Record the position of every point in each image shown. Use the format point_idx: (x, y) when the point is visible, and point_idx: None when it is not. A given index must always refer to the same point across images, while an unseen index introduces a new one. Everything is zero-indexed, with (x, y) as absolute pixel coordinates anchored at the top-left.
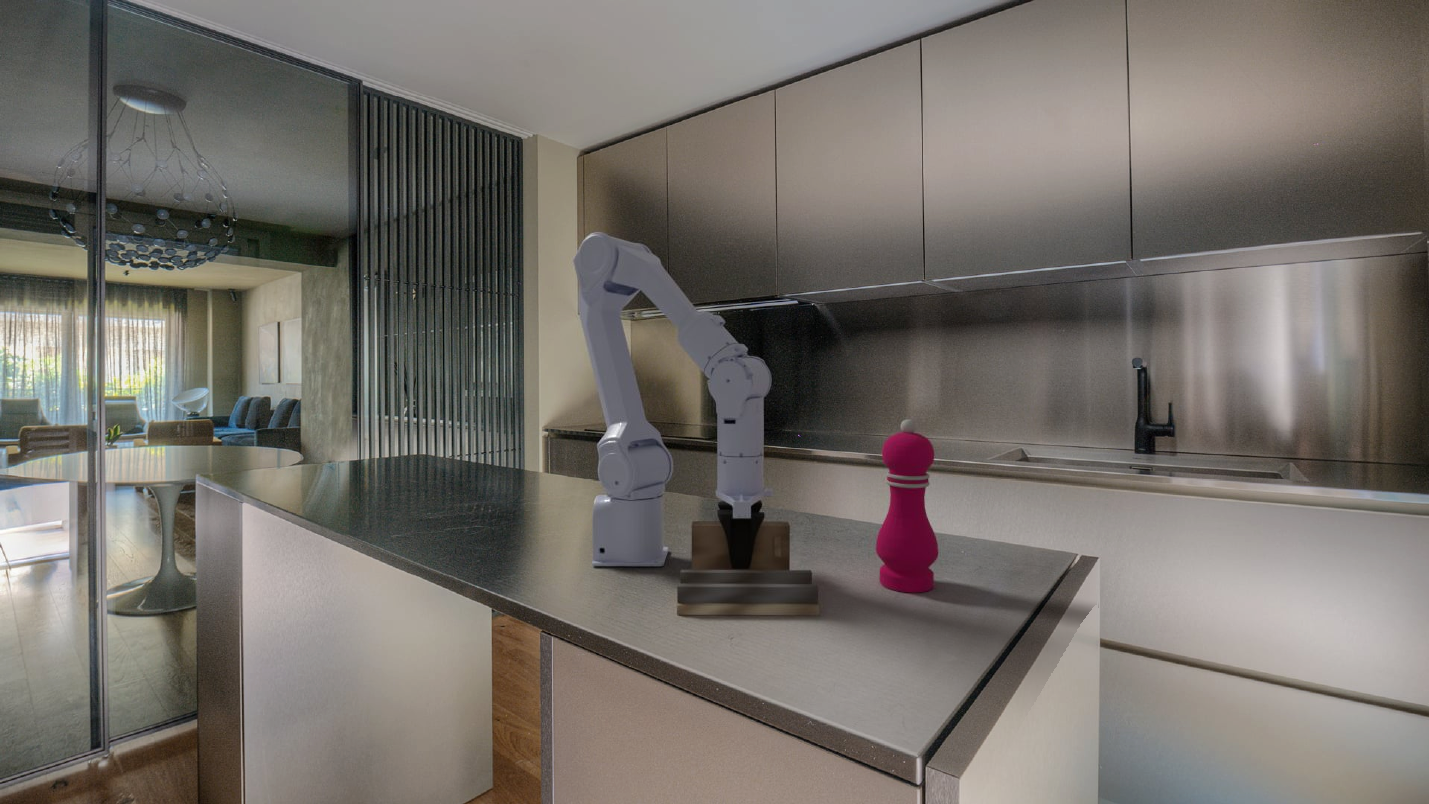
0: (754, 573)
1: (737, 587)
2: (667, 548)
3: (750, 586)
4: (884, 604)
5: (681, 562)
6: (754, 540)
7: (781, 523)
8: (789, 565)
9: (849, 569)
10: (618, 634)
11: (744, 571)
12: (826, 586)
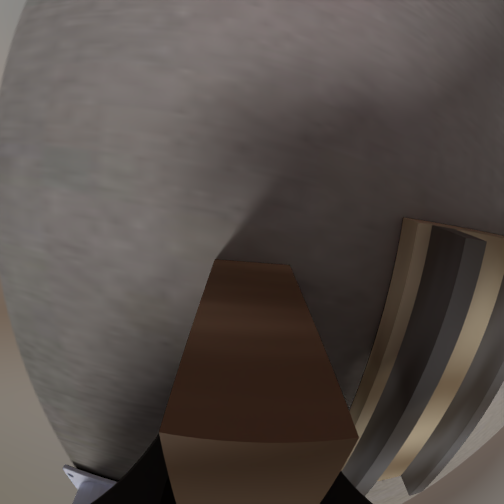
0: (420, 413)
1: (477, 423)
2: (71, 471)
3: (488, 404)
4: (476, 54)
5: (124, 466)
6: (357, 491)
7: (244, 477)
8: (298, 289)
9: (161, 16)
10: (433, 480)
11: (400, 435)
12: (352, 139)
